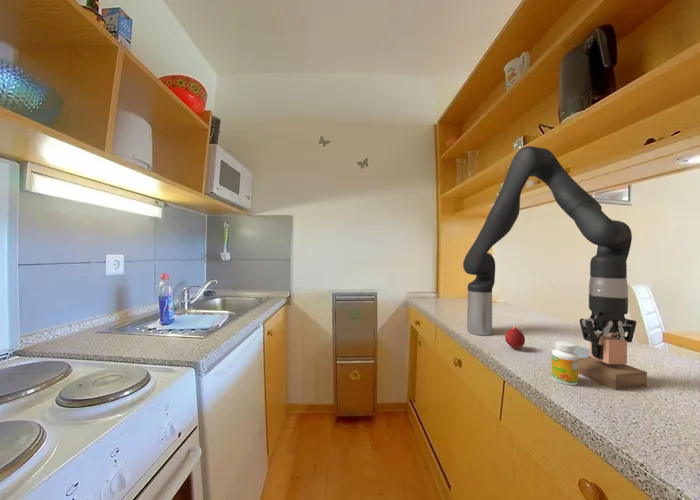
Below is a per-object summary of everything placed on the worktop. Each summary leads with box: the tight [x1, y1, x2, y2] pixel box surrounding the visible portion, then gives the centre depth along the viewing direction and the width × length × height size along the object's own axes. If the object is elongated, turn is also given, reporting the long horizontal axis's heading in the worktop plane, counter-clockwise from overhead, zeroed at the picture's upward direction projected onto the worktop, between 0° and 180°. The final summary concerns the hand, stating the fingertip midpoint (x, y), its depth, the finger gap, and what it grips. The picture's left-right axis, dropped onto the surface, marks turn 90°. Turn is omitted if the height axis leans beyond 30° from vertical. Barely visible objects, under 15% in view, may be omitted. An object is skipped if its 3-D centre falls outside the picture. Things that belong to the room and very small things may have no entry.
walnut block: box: [578, 357, 648, 391], centre depth 70 cm, size 10×10×4 cm
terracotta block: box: [589, 334, 628, 365], centre depth 70 cm, size 5×5×6 cm
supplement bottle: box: [551, 340, 579, 386], centre depth 69 cm, size 5×5×10 cm
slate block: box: [573, 345, 590, 358], centre depth 80 cm, size 7×7×4 cm
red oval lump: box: [504, 325, 526, 350], centre depth 91 cm, size 6×6×8 cm
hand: (607, 357), depth 70 cm, fingers closed on terracotta block, 5 cm apart
